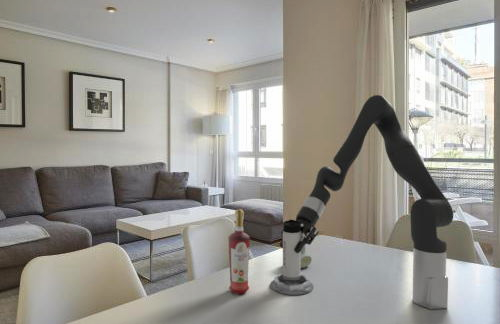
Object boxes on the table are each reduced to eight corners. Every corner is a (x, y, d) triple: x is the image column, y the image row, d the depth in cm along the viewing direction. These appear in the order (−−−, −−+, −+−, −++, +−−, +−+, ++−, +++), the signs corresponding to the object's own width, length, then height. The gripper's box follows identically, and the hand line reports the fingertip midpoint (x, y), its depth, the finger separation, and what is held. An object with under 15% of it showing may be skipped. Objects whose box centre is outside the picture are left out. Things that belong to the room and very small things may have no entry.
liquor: (230, 297, 113) (230, 212, 112) (226, 288, 120) (226, 208, 119) (252, 294, 115) (252, 211, 114) (246, 286, 122) (246, 207, 121)
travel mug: (300, 273, 125) (300, 219, 124) (300, 281, 118) (301, 223, 117) (282, 273, 126) (282, 219, 125) (282, 280, 119) (282, 223, 118)
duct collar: (319, 293, 116) (319, 286, 116) (276, 296, 113) (276, 289, 113) (304, 277, 130) (304, 270, 130) (266, 279, 128) (266, 272, 128)
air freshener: (296, 271, 136) (296, 246, 136) (281, 266, 143) (281, 242, 142) (314, 265, 143) (314, 242, 143) (299, 260, 150) (299, 238, 149)
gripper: (291, 203, 131) (269, 239, 124) (322, 208, 120) (299, 248, 113) (300, 215, 135) (279, 250, 128) (331, 221, 124) (309, 260, 117)
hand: (288, 249), depth 120 cm, fingers closed on travel mug, 6 cm apart
